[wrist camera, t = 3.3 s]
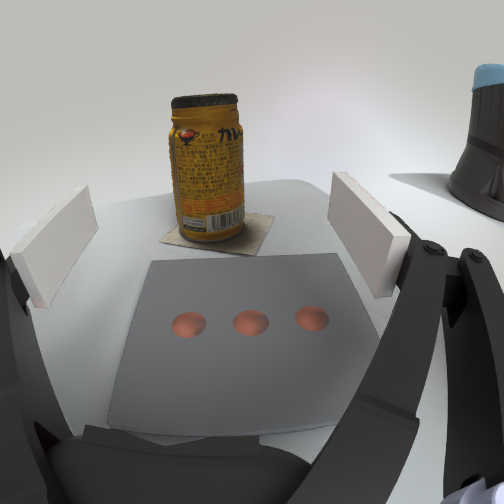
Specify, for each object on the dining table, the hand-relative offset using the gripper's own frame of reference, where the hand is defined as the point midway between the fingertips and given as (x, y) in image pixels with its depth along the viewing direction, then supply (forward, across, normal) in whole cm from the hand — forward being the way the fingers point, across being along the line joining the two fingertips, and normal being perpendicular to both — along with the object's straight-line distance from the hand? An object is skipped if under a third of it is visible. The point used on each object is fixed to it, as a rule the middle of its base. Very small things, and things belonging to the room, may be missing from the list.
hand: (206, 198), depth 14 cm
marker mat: (-2, +2, -7) cm, 8 cm away
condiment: (+10, 0, -7) cm, 12 cm away
